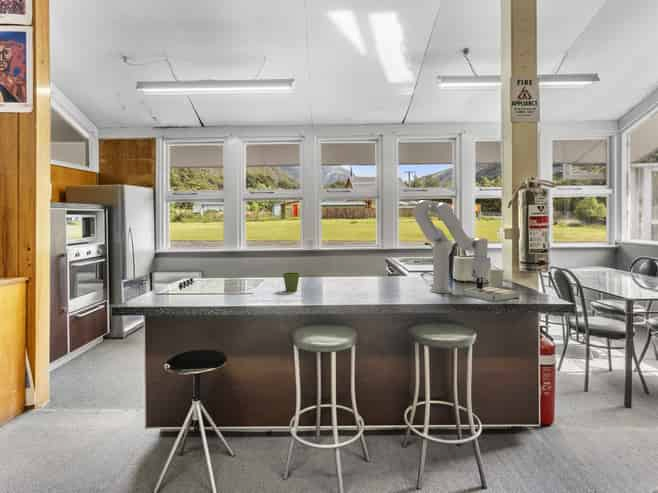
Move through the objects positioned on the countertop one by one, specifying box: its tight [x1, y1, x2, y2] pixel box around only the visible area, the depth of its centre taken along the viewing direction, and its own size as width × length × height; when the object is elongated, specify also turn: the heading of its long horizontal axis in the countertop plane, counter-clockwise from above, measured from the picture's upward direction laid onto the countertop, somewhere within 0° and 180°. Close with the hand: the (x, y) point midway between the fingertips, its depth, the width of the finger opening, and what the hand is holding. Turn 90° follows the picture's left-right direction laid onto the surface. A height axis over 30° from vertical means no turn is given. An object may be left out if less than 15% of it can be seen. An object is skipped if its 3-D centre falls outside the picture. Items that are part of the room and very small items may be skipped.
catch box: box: [462, 287, 507, 303], centre depth 242 cm, size 22×11×4 cm, turn 29°
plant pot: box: [282, 271, 301, 292], centre depth 266 cm, size 12×12×11 cm
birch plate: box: [477, 286, 518, 300], centre depth 247 cm, size 20×11×3 cm, turn 29°
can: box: [488, 267, 504, 288], centre depth 278 cm, size 9×9×12 cm
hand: (479, 288), depth 248 cm, fingers closed
